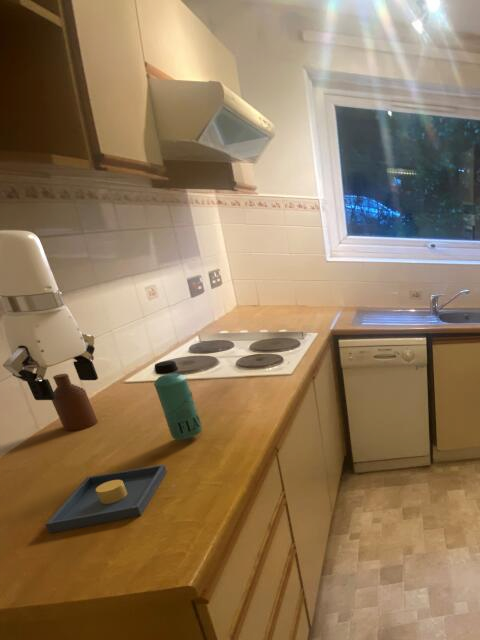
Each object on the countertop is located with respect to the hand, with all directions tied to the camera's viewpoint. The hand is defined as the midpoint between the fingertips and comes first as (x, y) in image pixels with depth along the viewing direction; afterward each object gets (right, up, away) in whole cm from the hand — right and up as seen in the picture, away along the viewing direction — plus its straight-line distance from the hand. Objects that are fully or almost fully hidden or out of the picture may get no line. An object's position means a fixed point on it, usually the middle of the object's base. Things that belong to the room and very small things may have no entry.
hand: (68, 389), depth 85 cm
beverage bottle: (+7, -13, +22) cm, 27 cm away
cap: (+9, -21, 0) cm, 23 cm away
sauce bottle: (-25, -10, +28) cm, 39 cm away
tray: (+9, -22, 0) cm, 24 cm away
